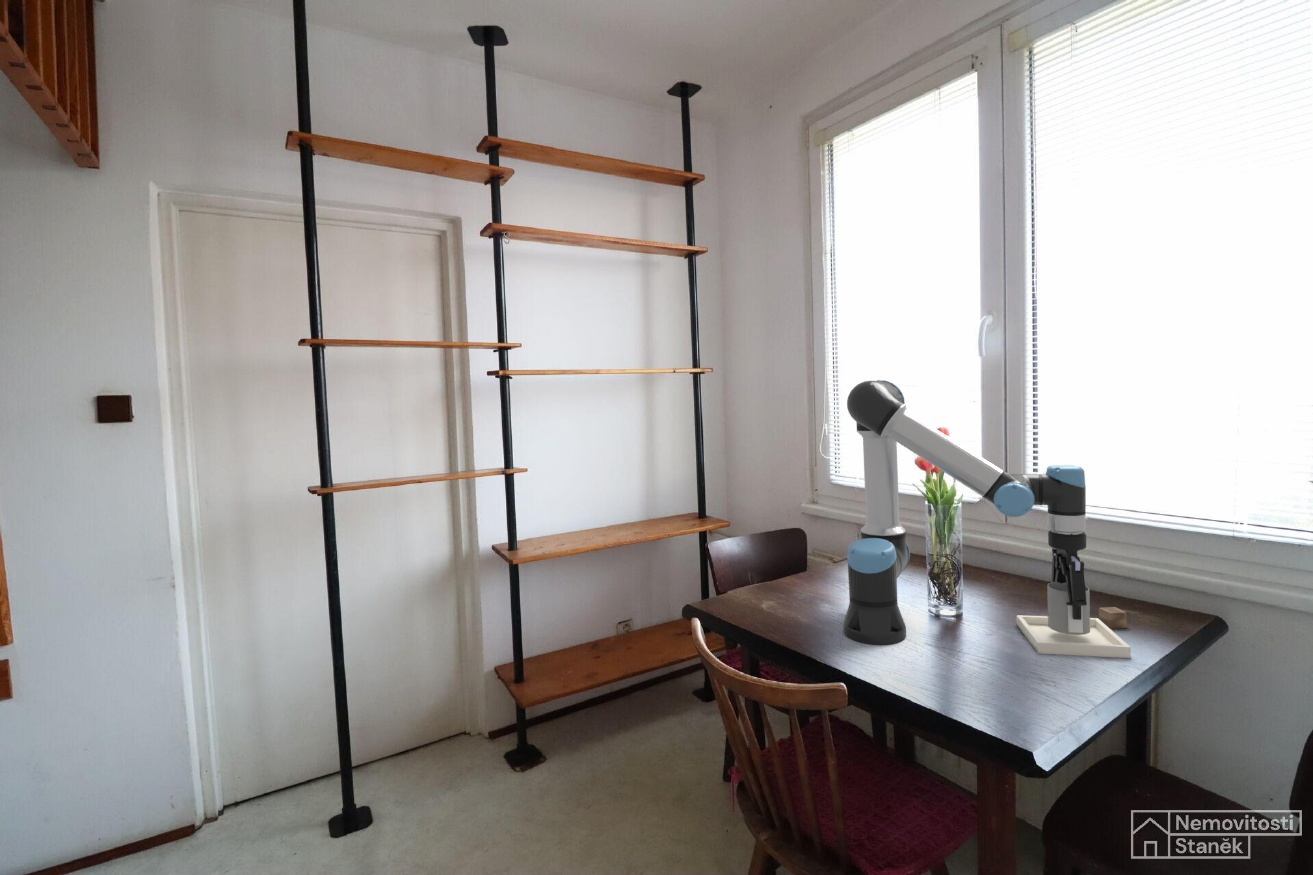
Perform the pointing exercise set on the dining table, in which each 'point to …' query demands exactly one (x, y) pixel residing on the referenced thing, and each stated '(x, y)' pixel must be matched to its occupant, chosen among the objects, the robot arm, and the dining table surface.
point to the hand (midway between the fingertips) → (1068, 624)
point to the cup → (1064, 609)
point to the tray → (1073, 639)
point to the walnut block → (1113, 617)
